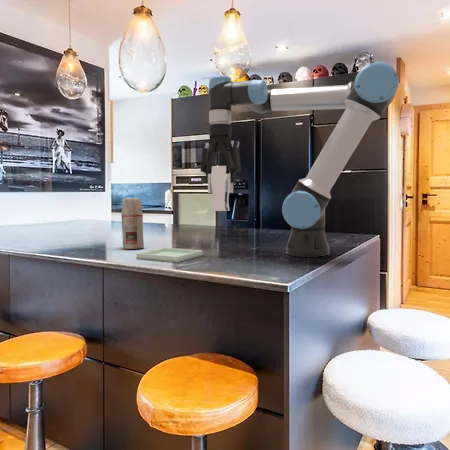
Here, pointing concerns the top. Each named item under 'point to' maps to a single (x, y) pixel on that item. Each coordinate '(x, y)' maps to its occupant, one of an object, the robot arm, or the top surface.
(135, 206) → the spray can
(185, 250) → the tray
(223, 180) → the beer glass
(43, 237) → the top surface
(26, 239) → the top surface
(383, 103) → the robot arm
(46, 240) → the top surface
